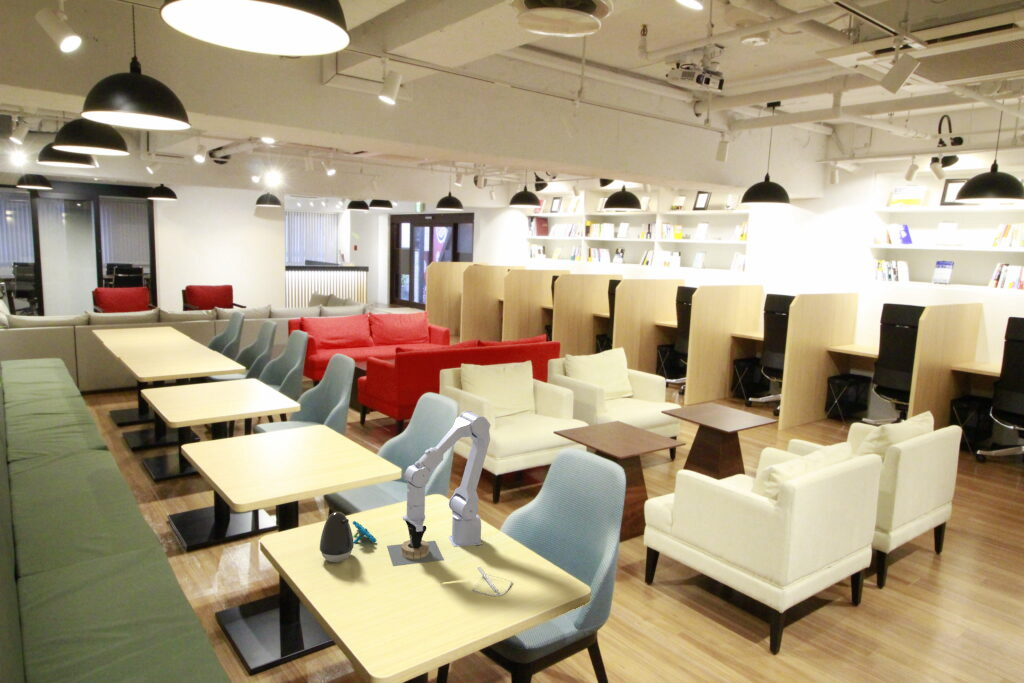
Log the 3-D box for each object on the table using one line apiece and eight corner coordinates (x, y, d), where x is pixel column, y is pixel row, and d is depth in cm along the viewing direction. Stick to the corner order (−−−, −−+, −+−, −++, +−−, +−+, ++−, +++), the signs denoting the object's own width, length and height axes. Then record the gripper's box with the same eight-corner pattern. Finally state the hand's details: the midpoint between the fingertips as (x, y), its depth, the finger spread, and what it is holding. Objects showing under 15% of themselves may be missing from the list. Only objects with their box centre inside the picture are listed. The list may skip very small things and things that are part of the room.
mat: (434, 542, 217) (434, 540, 217) (444, 561, 204) (444, 559, 204) (386, 547, 212) (386, 545, 212) (392, 567, 199) (393, 565, 199)
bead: (425, 545, 214) (425, 538, 213) (430, 557, 206) (430, 549, 205) (399, 548, 211) (399, 541, 211) (403, 560, 203) (403, 552, 203)
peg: (418, 549, 210) (419, 532, 209) (420, 554, 207) (420, 536, 206) (409, 550, 209) (409, 533, 208) (410, 555, 206) (411, 537, 205)
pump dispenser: (334, 570, 196) (334, 522, 194) (313, 559, 203) (312, 512, 200) (360, 558, 204) (361, 512, 202) (339, 547, 211) (339, 503, 208)
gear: (380, 542, 212) (358, 523, 209) (367, 557, 210) (345, 538, 208) (374, 533, 222) (352, 515, 219) (361, 547, 221) (340, 529, 218)
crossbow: (519, 596, 188) (519, 589, 188) (478, 604, 183) (479, 598, 183) (498, 567, 202) (498, 561, 202) (459, 574, 197) (460, 568, 197)
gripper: (399, 495, 211) (399, 535, 213) (407, 513, 198) (406, 555, 200) (421, 493, 214) (420, 532, 216) (429, 511, 200) (428, 552, 202)
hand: (415, 543), depth 208 cm, fingers open, 4 cm apart
